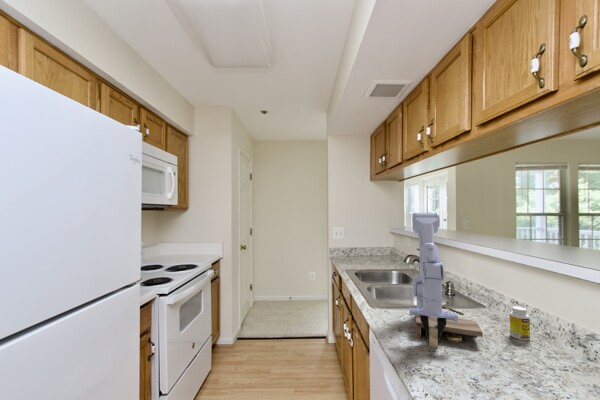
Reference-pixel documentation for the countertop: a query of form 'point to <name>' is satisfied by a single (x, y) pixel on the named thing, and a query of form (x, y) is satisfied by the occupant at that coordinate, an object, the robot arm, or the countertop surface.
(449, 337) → the brass disc
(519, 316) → the supplement bottle
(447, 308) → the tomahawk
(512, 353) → the countertop surface
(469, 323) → the low wooden bench
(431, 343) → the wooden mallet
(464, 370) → the countertop surface
